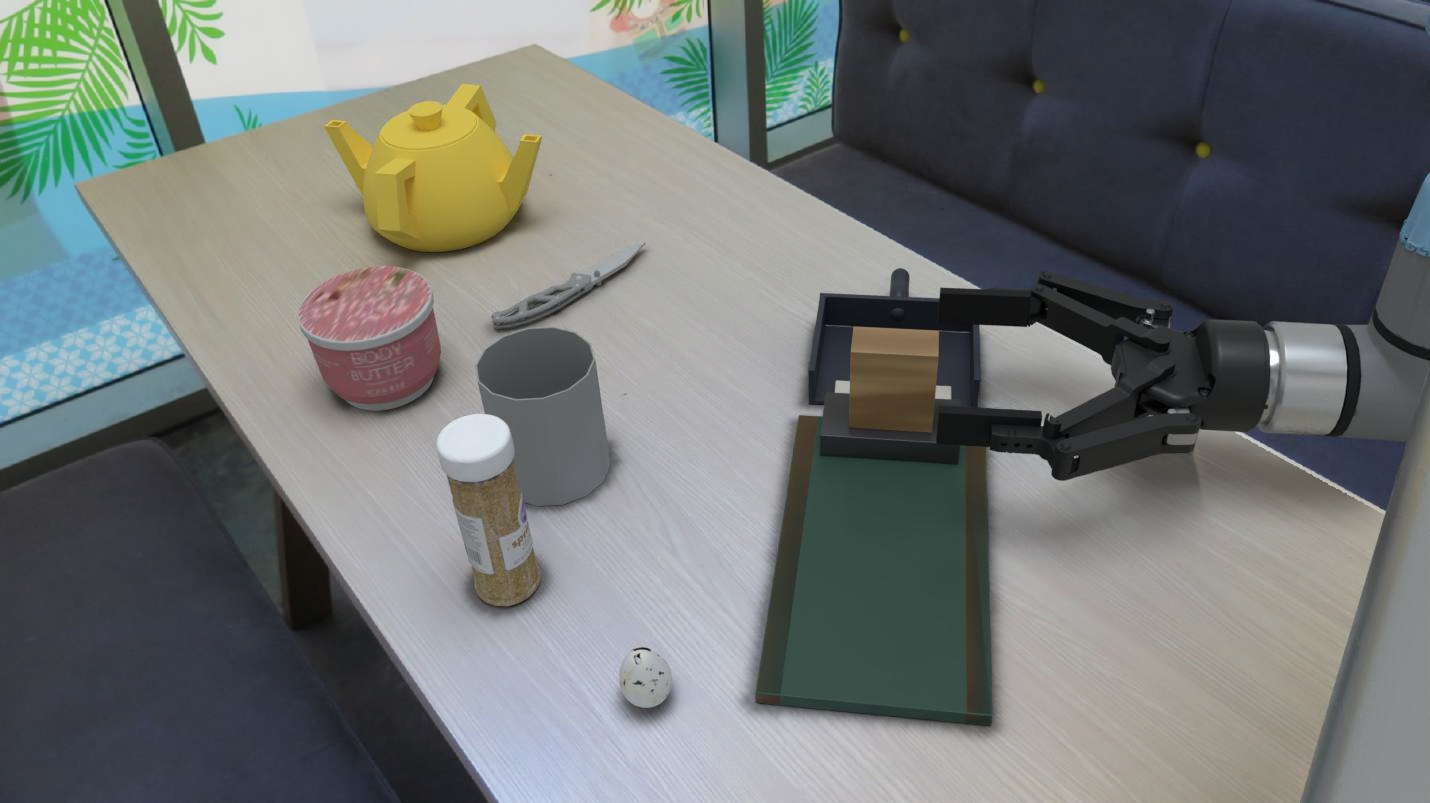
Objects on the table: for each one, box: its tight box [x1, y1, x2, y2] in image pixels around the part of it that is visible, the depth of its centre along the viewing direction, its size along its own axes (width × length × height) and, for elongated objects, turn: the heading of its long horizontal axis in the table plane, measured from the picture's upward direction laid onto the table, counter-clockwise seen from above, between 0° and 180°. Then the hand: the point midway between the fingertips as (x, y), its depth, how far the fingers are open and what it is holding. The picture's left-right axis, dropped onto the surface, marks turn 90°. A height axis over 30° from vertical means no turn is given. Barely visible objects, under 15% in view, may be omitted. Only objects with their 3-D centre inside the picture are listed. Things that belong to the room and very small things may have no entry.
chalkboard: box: [755, 414, 994, 726], centre depth 81 cm, size 26×14×1 cm, turn 171°
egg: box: [618, 646, 673, 709], centre depth 72 cm, size 3×3×5 cm
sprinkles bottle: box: [435, 413, 542, 607], centre depth 77 cm, size 5×5×13 cm
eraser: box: [820, 326, 960, 464], centre depth 86 cm, size 5×10×9 cm, turn 81°
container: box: [297, 265, 442, 412], centre depth 97 cm, size 10×10×8 cm
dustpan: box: [807, 267, 982, 408], centre depth 98 cm, size 16×13×3 cm
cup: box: [474, 326, 612, 507], centre depth 87 cm, size 8×8×10 cm
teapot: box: [323, 83, 543, 253], centre depth 115 cm, size 17×17×12 cm
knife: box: [490, 242, 646, 330], centre depth 107 cm, size 2×18×3 cm
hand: (937, 361), depth 84 cm, fingers open, 13 cm apart
